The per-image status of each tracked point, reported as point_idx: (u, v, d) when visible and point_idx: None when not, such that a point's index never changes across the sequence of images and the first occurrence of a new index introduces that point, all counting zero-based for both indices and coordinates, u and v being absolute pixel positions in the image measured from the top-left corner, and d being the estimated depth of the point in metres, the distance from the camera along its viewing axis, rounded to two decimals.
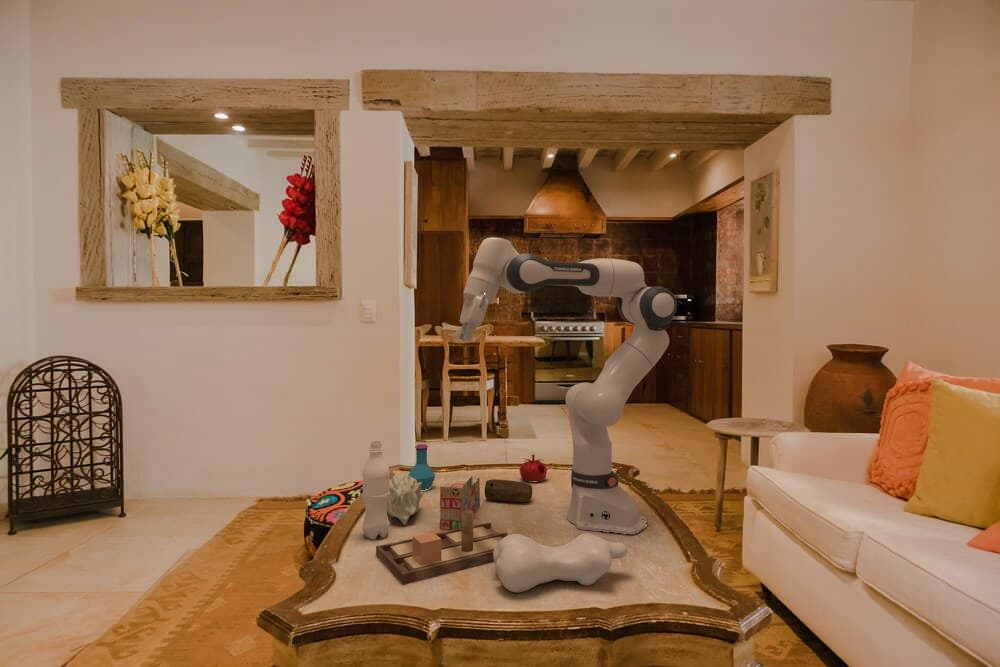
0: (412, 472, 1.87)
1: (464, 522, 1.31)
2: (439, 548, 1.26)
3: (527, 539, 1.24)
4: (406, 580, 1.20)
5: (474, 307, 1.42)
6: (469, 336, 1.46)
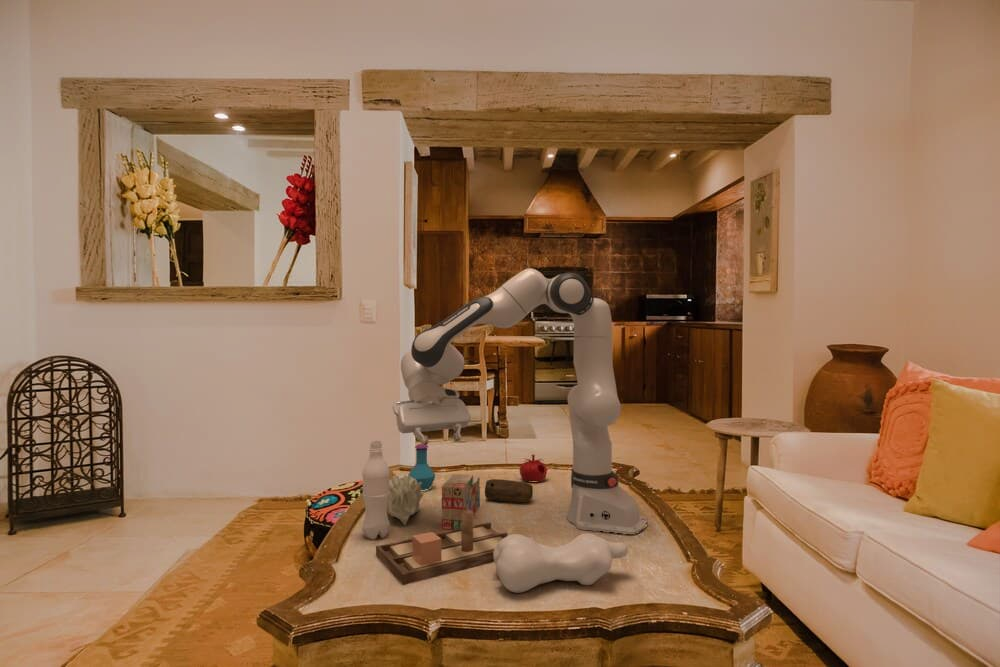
0: (412, 472, 1.87)
1: (464, 522, 1.31)
2: (439, 548, 1.26)
3: (527, 539, 1.23)
4: (406, 580, 1.20)
5: None
6: (421, 438, 1.42)
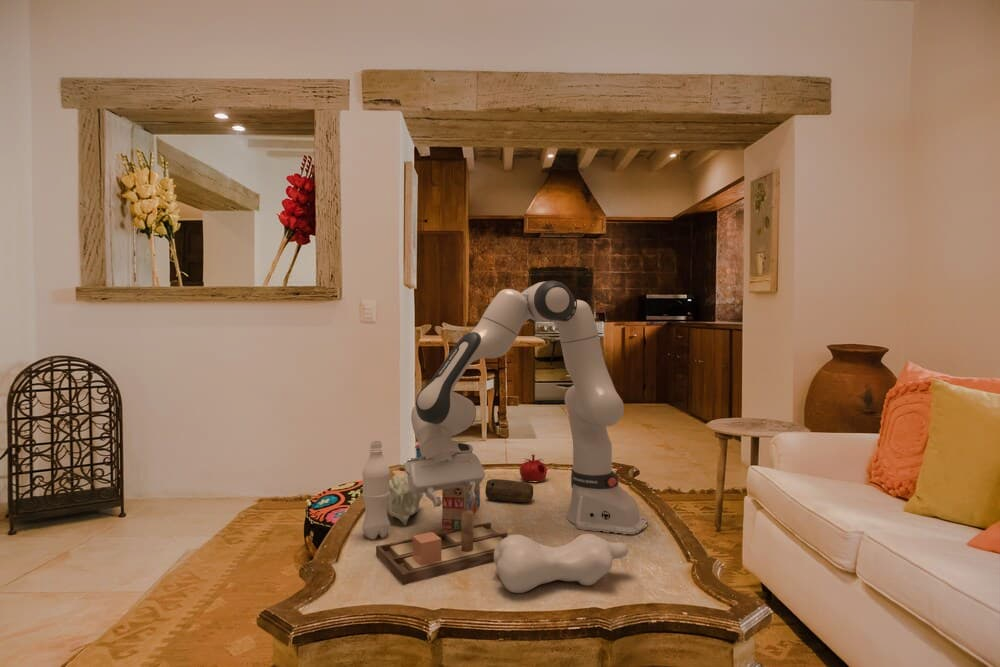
0: None
1: (464, 522, 1.31)
2: (439, 548, 1.26)
3: (528, 539, 1.23)
4: (406, 580, 1.20)
5: (408, 480, 1.39)
6: (434, 500, 1.35)
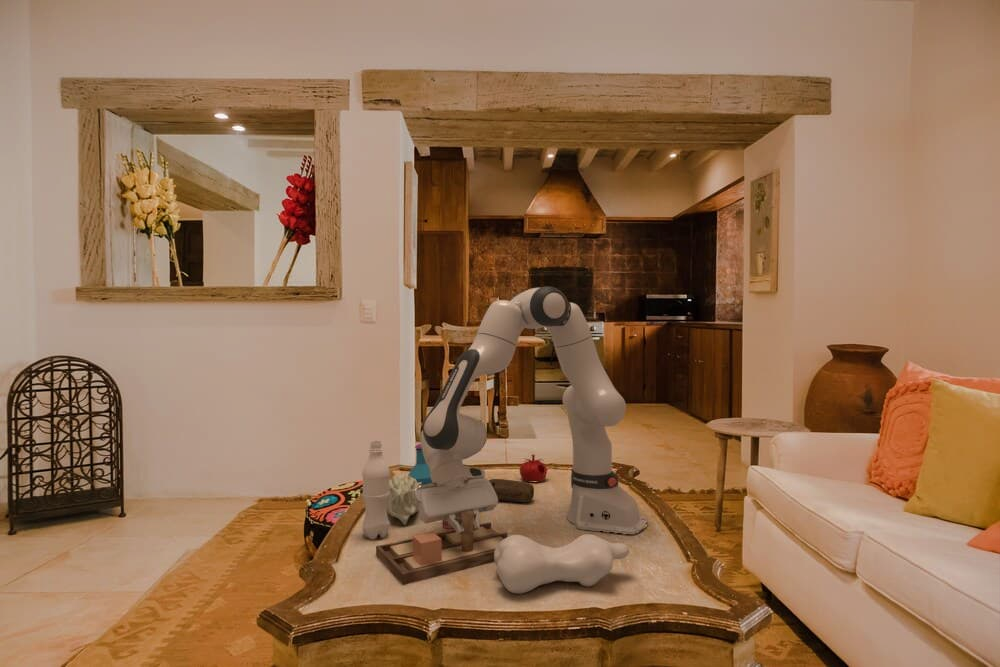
0: (412, 472, 1.87)
1: (464, 522, 1.31)
2: (439, 548, 1.26)
3: (528, 540, 1.23)
4: (406, 580, 1.20)
5: None
6: (456, 527, 1.31)
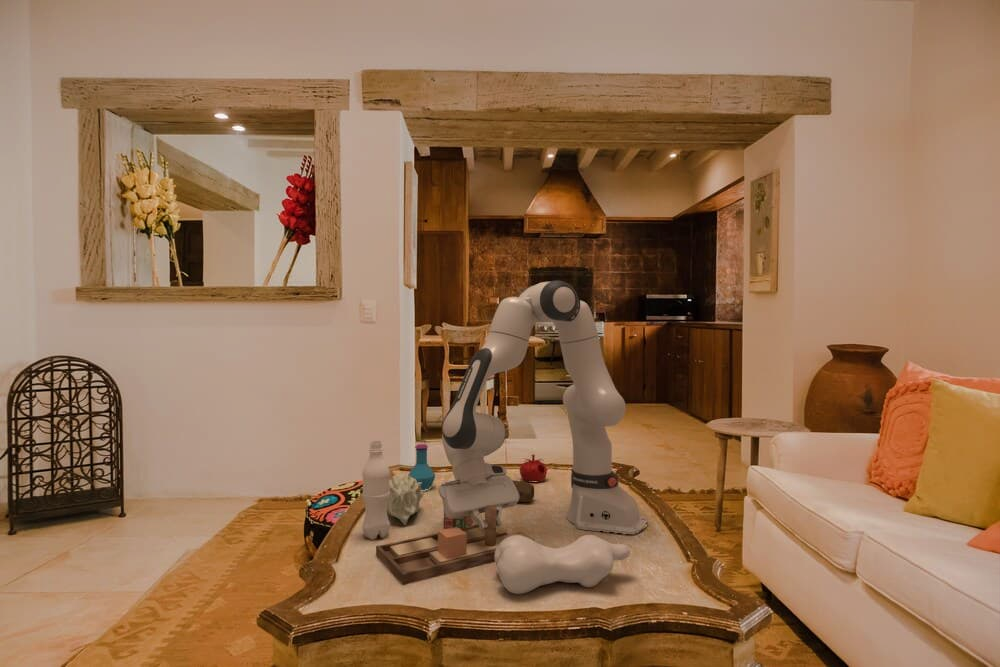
0: (412, 472, 1.87)
1: (487, 517, 1.34)
2: (464, 542, 1.29)
3: (529, 540, 1.23)
4: (406, 580, 1.20)
5: (443, 504, 1.36)
6: (480, 523, 1.34)
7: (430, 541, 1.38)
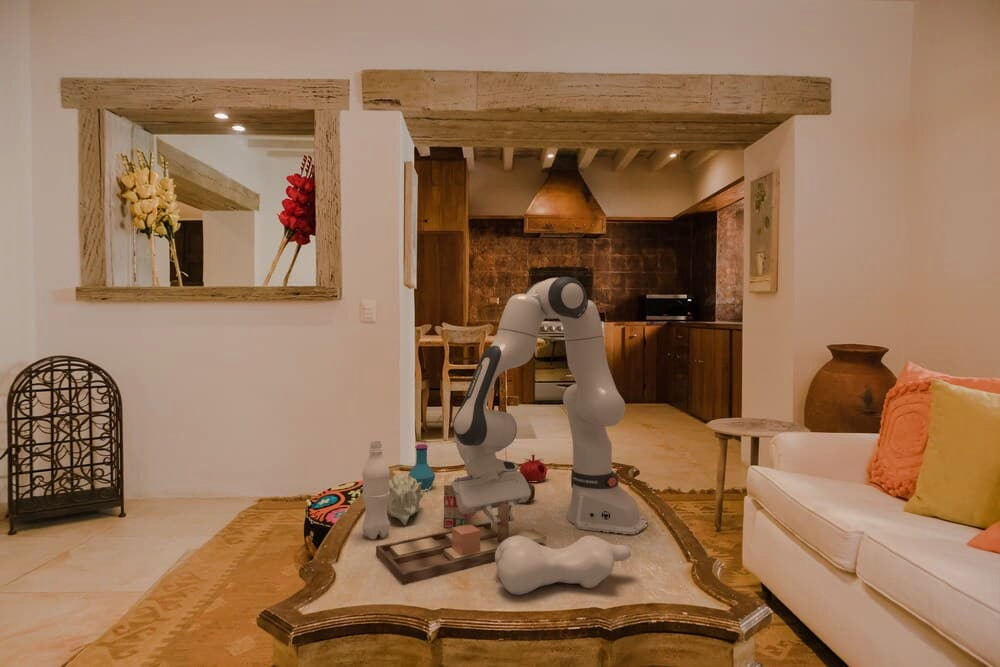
0: (412, 472, 1.87)
1: (500, 515, 1.36)
2: (478, 539, 1.31)
3: (529, 541, 1.23)
4: (406, 580, 1.20)
5: (456, 499, 1.38)
6: (493, 518, 1.36)
7: (430, 541, 1.38)
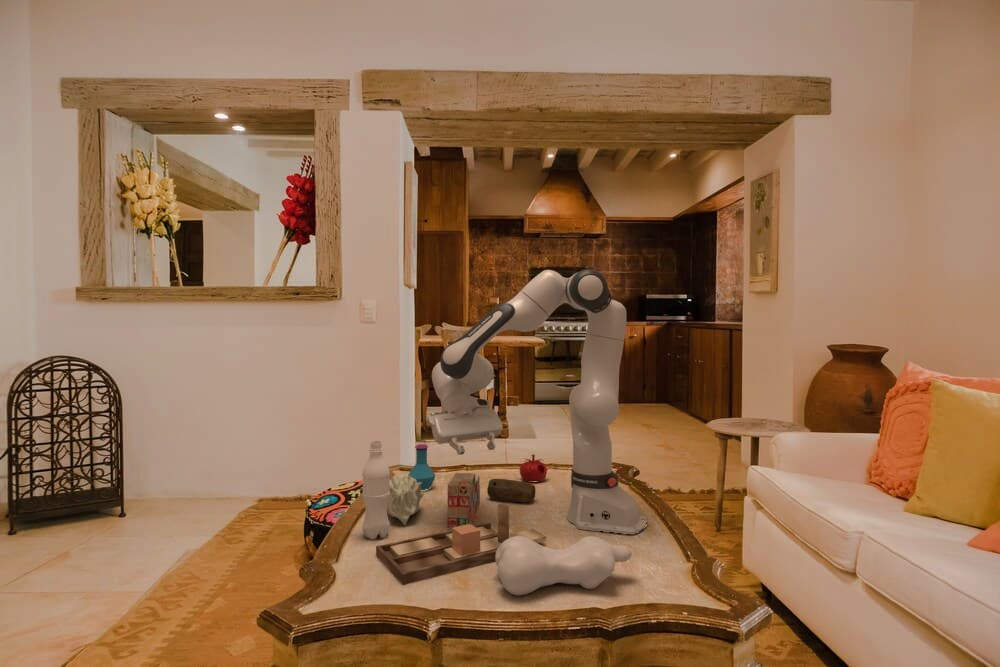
0: (412, 472, 1.87)
1: (500, 515, 1.36)
2: (478, 539, 1.31)
3: (530, 541, 1.22)
4: (406, 580, 1.20)
5: (432, 431, 1.49)
6: (457, 448, 1.46)
7: (430, 541, 1.38)
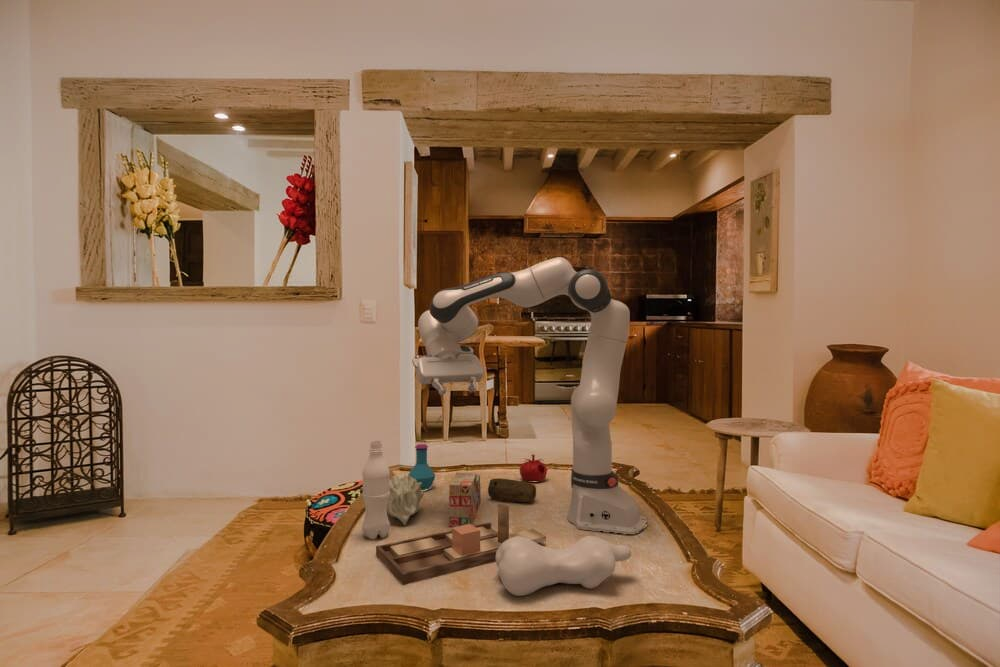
0: (412, 472, 1.87)
1: (500, 515, 1.36)
2: (478, 539, 1.31)
3: (530, 542, 1.22)
4: (406, 580, 1.20)
5: (416, 373, 1.56)
6: (439, 388, 1.52)
7: (430, 541, 1.38)
